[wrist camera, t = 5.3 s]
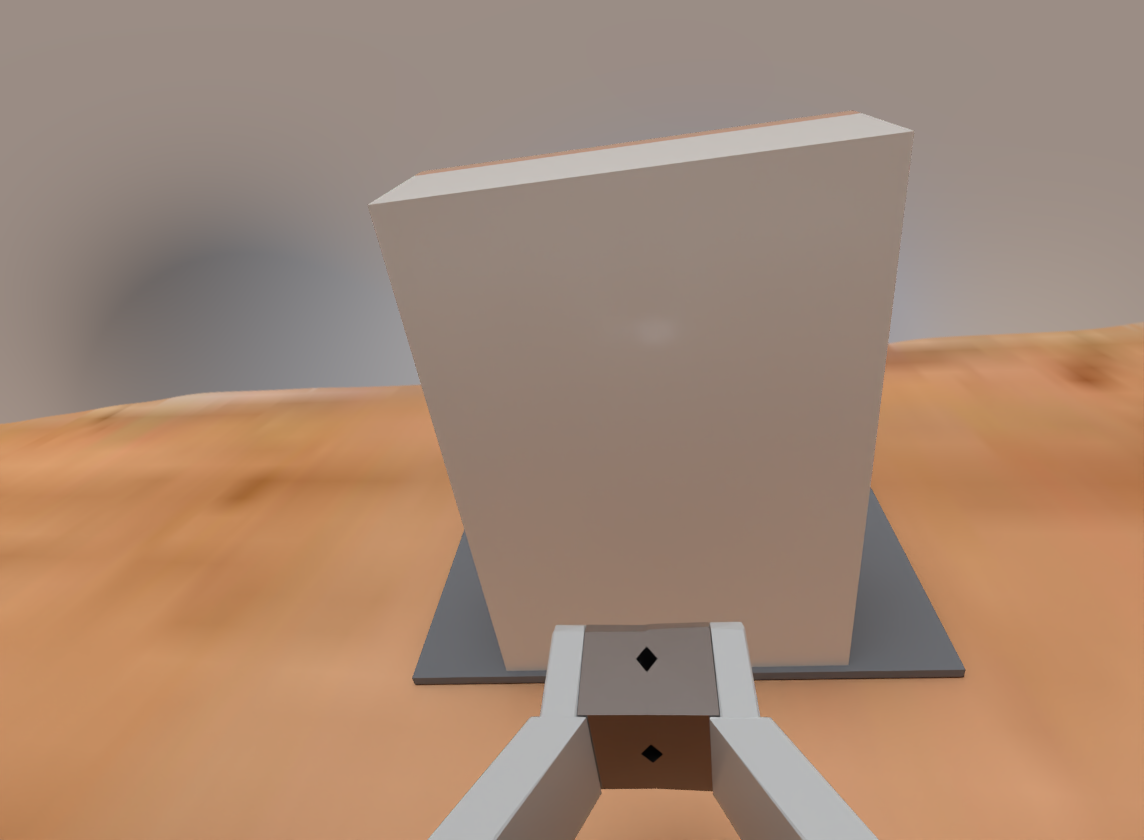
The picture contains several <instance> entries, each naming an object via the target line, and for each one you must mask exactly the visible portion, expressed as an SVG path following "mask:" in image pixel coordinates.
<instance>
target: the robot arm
mask: <svg viewBox="0 0 1144 840" xmlns="http://www.w3.org/2000/svg"><path fill="white" fill-rule="evenodd" d="M656 788H657V789H675V790H695V791H713V795H714V797H715V798H716V800H717V802H718V803H719V805H720V806H721V808H722V809H723V811H724V813H725V814H726V816H727V817H728V819H729V821H730V822H731V824H732V825H733V827H734V829H735V830H736V832H737V833H738V835H739V837H740V838H741V840H878V839H877V837H876V836H875V835H874V834H873V833H872V832H871V831H870V830H869V828H868V827H867V826H866V825H865V824H864V823H863V822H862V820H861V819H860V818H859V817H858V816H857V815H856V814H855V813H854V811H853V810H852V809H851V808H850V807H849V806H848V805H847V803H846V802H845V801H844V800H843V799H842V798H841V797H840V796H839V794H838V793H837V792H836V791H835V790H834V789H833V788H832V786H831V785H830V784H829V783H828V782H827V781H826V780H825V779H824V777H823V776H822V775H821V774H820V773H819V772H818V771H817V769H816V768H815V767H814V766H813V765H812V764H811V763H810V762H809V760H808V759H807V758H806V757H805V756H804V755H803V754H802V752H801V751H800V750H799V749H798V748H797V747H796V746H795V745H794V743H793V742H792V741H791V740H790V739H789V738H788V737H787V735H786V734H785V733H784V732H783V731H782V730H781V729H780V728H779V726H778V725H777V724H776V723H775V722H774V721H773V720H772V718H770V717H760V712H759V706H758V701H757V695H756V689H755V684H754V678H753V673H752V667H751V661H750V656H749V650H748V644H747V639H746V633H745V627H744V626H743V624H742V622H710V624H709V623H708V622H692V623H661V624H647V625H556V627H555V629H554V631H553V634H552V640H551V646H550V653H549V660H548V666H547V673H546V679H545V686H544V693H543V699H542V706H541V713H540V717H530V718H529V719H528V721H527V722H526V723H525V724H524V725H523V727H522V728H521V729H520V730H519V731H518V733H517V734H516V735H515V736H514V737H513V739H512V740H511V741H510V742H509V743H508V745H507V746H506V747H505V748H504V749H503V750H502V752H501V753H500V754H499V755H498V756H497V758H496V759H495V760H494V761H493V762H492V764H491V765H490V766H489V767H488V768H487V770H486V771H485V772H484V773H483V774H482V775H481V777H480V778H479V779H478V780H477V781H476V783H475V784H474V785H473V786H472V787H471V789H470V790H469V791H468V792H467V793H466V795H465V796H464V797H463V798H462V799H461V800H460V802H459V803H458V804H457V805H456V806H455V808H454V809H453V810H452V811H451V812H450V814H449V815H448V816H447V817H446V818H445V820H444V821H443V822H442V823H441V824H440V825H439V827H438V828H437V829H436V830H435V831H434V833H433V834H432V835H431V836H430V837H429V839H428V840H575V838H576V836H577V834H578V833H579V831H580V829H581V828H582V826H583V824H584V822H585V821H586V819H587V817H588V816H589V814H590V812H591V810H592V809H593V807H594V805H595V804H596V802H597V800H598V798H599V797H600V795H601V793H602V792H601V789H656Z"/></svg>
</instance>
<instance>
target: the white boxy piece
mask: <svg viewBox="0 0 1144 840" xmlns="http://www.w3.org/2000/svg"><path fill="white" fill-rule="evenodd" d="M913 137H914V131H913V130H910V129H907V128H904V127H901V126H897V125H895V124H892V123H889V122H886V121H883V120H880V119H877V118H874V117H871V116H868V115H865V114H862V113H859V112H856V111H853V110H852V111H845V112H838V113H831V114H824V115H817V116H810V117H803V118H796V119H789V120H782V121H775V122H767V123H760V124H754V125H746V126H739V127H732V128H726V129H718V130H712V131H704V132H697V133H690V134H683V135H676V136H669V137H662V138H656V139H648V140H640V141H633V142H626V143H619V144H612V145H606V146H598V147H592V148H585V149H577V150H570V151H564V152H556V153H549V154H542V155H535V156H528V157H520V158H513V159H506V160H499V161H492V162H485V163H478V164H471V165H464V166H457V167H450V168H443V169H436V170H429V171H422V172H420V173H418V174H417V175H415V176H413V177H412V178H410V179H409V180H407V181H405V182H404V183H402V184H401V185H399V186H397V187H396V188H394V189H392V190H391V191H389V192H388V193H386V194H384V195H383V196H381V197H380V198H378V199H376V200H375V201H373V202H372V203H370V204H368V208H369V211H370V215H371V218H372V222H373V225H374V228H375V232H376V235H377V238H378V242H379V245H380V248H381V252H382V255H383V259H384V262H385V265H386V269H387V272H388V275H389V279H390V282H391V285H392V288H393V292H394V295H395V298H396V302H397V305H398V308H399V312H400V315H401V319H402V322H403V325H404V329H405V332H406V335H407V339H408V342H409V346H410V349H411V352H412V355H413V359H414V362H415V366H416V368H417V372H418V376H419V379H420V382H421V386H422V389H423V392H424V396H425V399H426V403H427V406H428V409H429V413H430V416H431V419H432V423H433V426H434V429H435V433H436V436H437V439H438V443H439V446H440V449H441V453H442V456H443V459H444V463H445V466H446V469H447V473H448V476H449V480H450V483H451V486H452V490H453V493H454V496H455V500H456V503H457V506H458V510H459V513H460V516H461V520H462V523H463V526H464V530H465V533H466V536H467V540H468V543H469V547H470V550H471V553H472V557H473V560H474V563H475V567H476V570H477V573H478V577H479V580H480V583H481V587H482V590H483V593H484V597H485V600H486V603H487V607H488V610H489V613H490V617H491V620H492V624H493V627H494V630H495V634H496V637H497V640H498V644H499V647H500V650H501V654H502V657H503V660H504V664H505V667H506V670H507V671H539V670H547V666H548V660H549V653H550V646H551V640H552V634H553V631H554V629H555V627H556V625H647V624H661V623H692V622H708V623H709V624H710V622H742V624H743V626H744V627H745V633H746V639H747V644H748V650H749V656H750V661H751V667H781V666H841V665H848V664H849V656H850V648H851V639H852V631H853V623H854V615H855V607H856V599H857V591H858V583H859V575H860V566H861V558H862V550H863V542H864V534H865V526H866V518H867V510H868V502H869V493H870V485H871V477H872V469H873V461H874V453H875V445H876V437H877V429H878V420H879V412H880V404H881V396H882V388H883V380H884V372H885V364H886V356H887V347H888V339H889V331H890V322H891V315H892V307H893V299H894V291H895V283H896V274H897V266H898V258H899V250H900V242H901V234H902V226H903V217H904V210H905V201H906V193H907V185H908V177H909V169H910V161H911V152H912V144H913Z"/></svg>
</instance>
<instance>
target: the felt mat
mask: <svg viewBox="0 0 1144 840" xmlns="http://www.w3.org/2000/svg"><path fill="white" fill-rule="evenodd" d="M546 673H547V670H539V671H507V670H506V667H505V664H504V660H503V657H502V654H501V650H500V647H499V644H498V640H497V637H496V634H495V630H494V627H493V624H492V620H491V617H490V613H489V610H488V607H487V603H486V600H485V597H484V593H483V590H482V587H481V583H480V580H479V577H478V573H477V570H476V567H475V563H474V560H473V557H472V553H471V550H470V547H469V543H468V540H467V536H466V533H465V530H464V533H463V535H462V538H461V541H460V544H459V547H458V550H457V552H456V555H455V558H454V561H453V564H452V567H451V569H450V572H449V575H448V578H447V581H446V584H445V587H444V589H443V592H442V595H441V598H440V601H439V604H438V606H437V609H436V612H435V615H434V618H433V621H432V624H431V626H430V629H429V632H428V635H427V638H426V641H425V643H424V646H423V649H422V652H421V655H420V658H419V660H418V663H417V666H416V669H415V672H414V675H413V678H412V679H413V681H414V683H415V684H468V683H541V682H545V679H546ZM752 673H753V678H754V680H762V679H835V678H909V677H964V673H965V668H964V666H963V664H962V662H961V660H960V658H959V656H958V654H957V652H956V651H955V649H954V647H953V645H952V643H951V641H950V639H949V637H948V635H947V633H946V631H945V629H944V627H943V626H942V624H941V622H940V620H939V618H938V616H937V614H936V612H935V610H934V608H933V606H932V604H931V602H930V601H929V599H928V597H927V595H926V593H925V591H924V589H923V587H922V585H921V583H920V581H919V579H918V577H917V575H916V574H915V572H914V570H913V568H912V566H911V564H910V562H909V560H908V558H907V556H906V554H905V552H904V550H903V549H902V547H901V545H900V543H899V541H898V539H897V537H896V535H895V533H894V531H893V529H892V527H891V525H890V523H889V522H888V520H887V518H886V516H885V514H884V512H883V510H882V508H881V506H880V504H879V502H878V500H877V498H876V497H875V495H874V493H873V491H872V489H871V487H870V493H869V502H868V510H867V518H866V526H865V534H864V542H863V550H862V558H861V566H860V575H859V583H858V591H857V599H856V607H855V615H854V623H853V631H852V639H851V648H850V656H849V664H848V665H841V666H781V667H752Z"/></svg>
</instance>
